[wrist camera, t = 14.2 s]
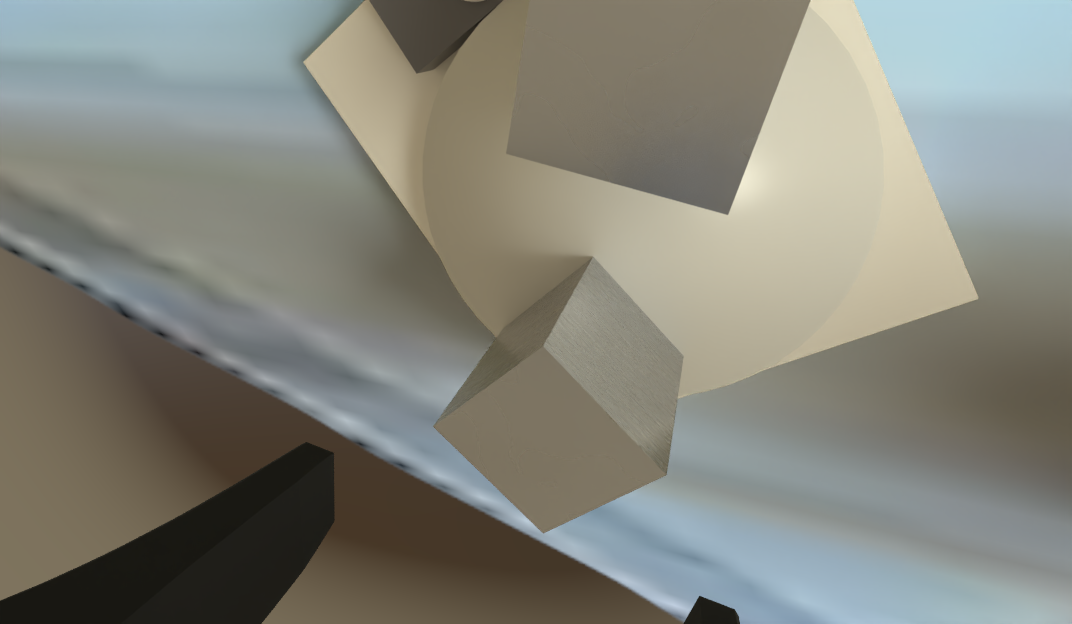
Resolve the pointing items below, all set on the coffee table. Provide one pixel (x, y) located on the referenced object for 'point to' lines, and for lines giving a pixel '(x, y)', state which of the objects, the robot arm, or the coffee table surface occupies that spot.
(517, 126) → the block
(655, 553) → the coffee table surface
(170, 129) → the coffee table surface
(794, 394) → the coffee table surface
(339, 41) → the scale
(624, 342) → the block
